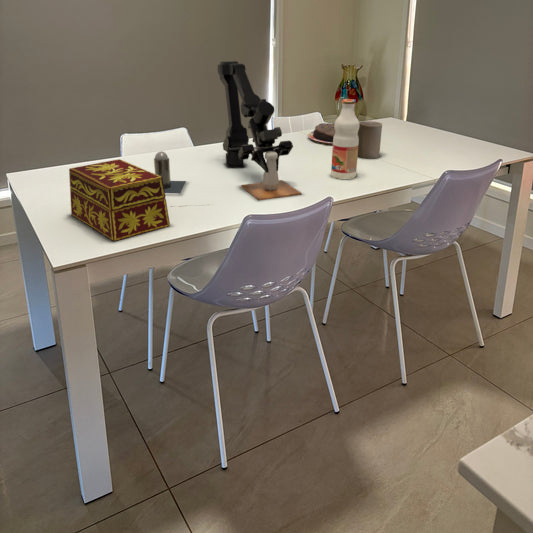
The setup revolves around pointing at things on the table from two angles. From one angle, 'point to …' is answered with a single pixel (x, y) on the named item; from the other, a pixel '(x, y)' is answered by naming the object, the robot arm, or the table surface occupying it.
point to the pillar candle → (369, 139)
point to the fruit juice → (345, 142)
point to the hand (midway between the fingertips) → (272, 171)
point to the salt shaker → (271, 172)
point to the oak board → (262, 194)
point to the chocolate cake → (323, 133)
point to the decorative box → (118, 198)
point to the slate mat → (175, 187)
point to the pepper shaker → (163, 168)
